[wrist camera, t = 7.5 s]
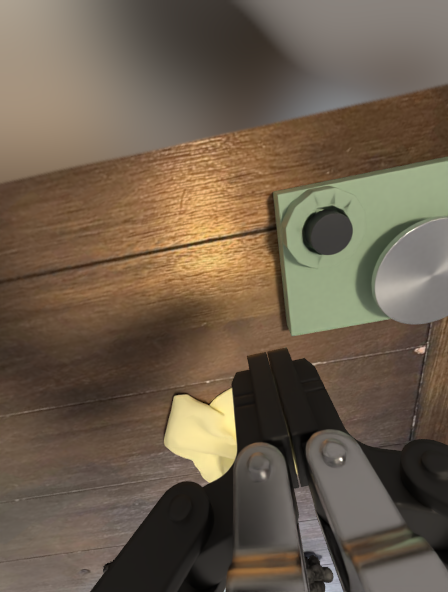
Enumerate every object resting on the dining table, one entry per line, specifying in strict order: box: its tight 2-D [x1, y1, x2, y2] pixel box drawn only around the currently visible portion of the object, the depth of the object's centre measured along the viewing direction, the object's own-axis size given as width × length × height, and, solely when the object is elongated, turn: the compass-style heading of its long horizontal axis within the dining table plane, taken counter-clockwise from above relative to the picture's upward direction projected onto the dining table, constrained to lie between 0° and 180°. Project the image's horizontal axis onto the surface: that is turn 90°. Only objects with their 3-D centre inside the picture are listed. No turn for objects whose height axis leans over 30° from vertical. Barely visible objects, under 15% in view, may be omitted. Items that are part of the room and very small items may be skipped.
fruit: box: [304, 555, 333, 592], centre depth 46 cm, size 9×8×15 cm
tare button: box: [305, 210, 353, 255], centre depth 21 cm, size 3×3×2 cm
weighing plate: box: [371, 216, 448, 324], centre depth 23 cm, size 9×9×1 cm
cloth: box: [164, 388, 297, 483], centre depth 34 cm, size 22×19×6 cm
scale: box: [273, 157, 448, 336], centre depth 24 cm, size 16×13×4 cm
